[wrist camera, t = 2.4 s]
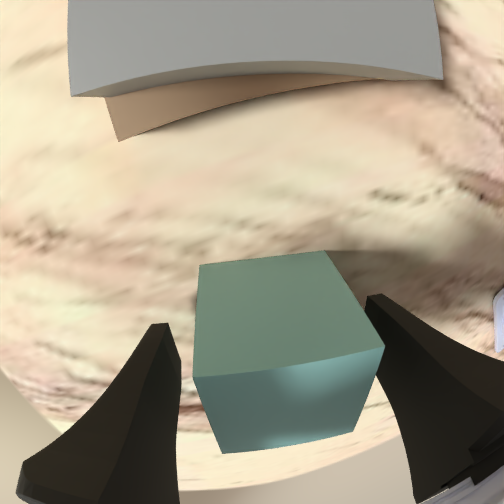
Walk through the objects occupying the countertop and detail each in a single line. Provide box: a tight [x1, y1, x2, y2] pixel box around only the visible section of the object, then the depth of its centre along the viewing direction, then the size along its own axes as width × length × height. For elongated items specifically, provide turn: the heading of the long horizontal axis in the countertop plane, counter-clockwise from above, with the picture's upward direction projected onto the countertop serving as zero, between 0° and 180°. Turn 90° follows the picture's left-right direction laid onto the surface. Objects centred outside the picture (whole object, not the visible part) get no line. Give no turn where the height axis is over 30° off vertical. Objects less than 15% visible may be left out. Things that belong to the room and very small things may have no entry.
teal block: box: [193, 251, 385, 454], centre depth 9 cm, size 4×4×5 cm
